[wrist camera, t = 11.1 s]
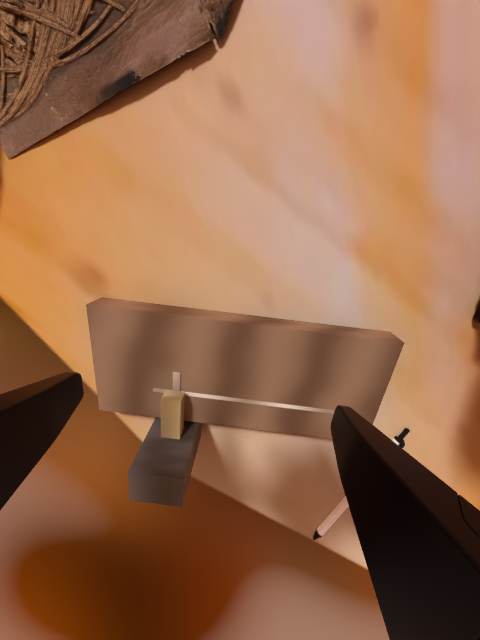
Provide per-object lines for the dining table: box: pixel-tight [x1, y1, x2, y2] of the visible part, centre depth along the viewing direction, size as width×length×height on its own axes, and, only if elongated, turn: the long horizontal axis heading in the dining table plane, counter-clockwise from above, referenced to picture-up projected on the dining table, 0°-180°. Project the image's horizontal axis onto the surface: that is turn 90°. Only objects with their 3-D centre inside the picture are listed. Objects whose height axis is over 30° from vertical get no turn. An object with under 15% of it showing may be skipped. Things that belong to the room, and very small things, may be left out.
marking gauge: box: [128, 390, 201, 507], centre depth 20 cm, size 4×7×7 cm, turn 174°
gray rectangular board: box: [86, 298, 404, 439], centre depth 21 cm, size 24×10×2 cm, turn 84°
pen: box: [313, 428, 410, 540], centre depth 26 cm, size 1×19×1 cm, turn 158°
